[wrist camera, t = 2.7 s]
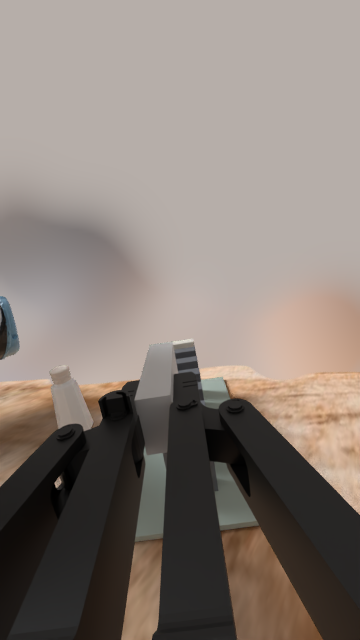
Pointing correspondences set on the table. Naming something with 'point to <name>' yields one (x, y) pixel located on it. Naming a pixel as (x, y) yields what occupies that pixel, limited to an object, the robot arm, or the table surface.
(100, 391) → the table surface
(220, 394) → the felt mat
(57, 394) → the salt shaker
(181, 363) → the domino
